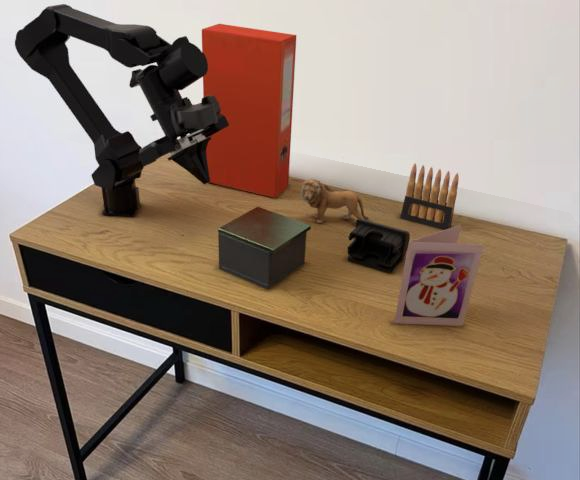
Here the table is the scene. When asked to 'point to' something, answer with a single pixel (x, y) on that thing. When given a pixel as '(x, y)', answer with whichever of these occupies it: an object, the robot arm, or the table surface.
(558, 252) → the table surface
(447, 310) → the greeting card
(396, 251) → the end cap
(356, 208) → the lion figurine
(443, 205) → the ammunition clip
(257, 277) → the bin
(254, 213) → the lid
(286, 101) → the file binder
